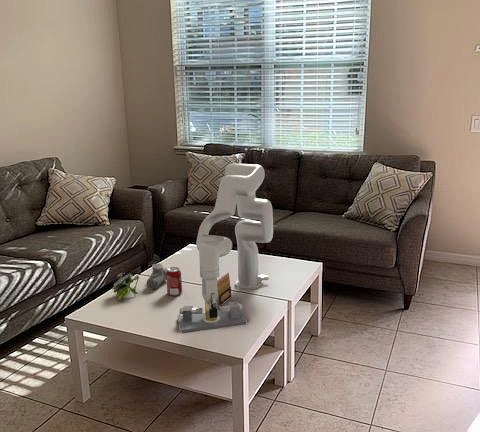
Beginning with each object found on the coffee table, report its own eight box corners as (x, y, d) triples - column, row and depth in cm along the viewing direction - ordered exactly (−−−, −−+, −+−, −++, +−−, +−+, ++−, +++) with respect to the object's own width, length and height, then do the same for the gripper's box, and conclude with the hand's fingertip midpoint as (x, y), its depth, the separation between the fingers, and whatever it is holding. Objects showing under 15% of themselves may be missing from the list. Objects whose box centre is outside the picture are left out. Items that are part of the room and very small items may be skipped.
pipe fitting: (154, 278, 250) (153, 259, 246) (169, 281, 248) (169, 262, 244) (143, 290, 240) (142, 271, 235) (159, 293, 238) (158, 274, 233)
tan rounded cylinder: (204, 316, 207) (203, 300, 206) (216, 314, 209) (215, 299, 207) (206, 321, 203) (206, 305, 201) (218, 320, 204) (217, 304, 202)
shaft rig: (239, 311, 215) (238, 297, 213) (246, 324, 203) (246, 310, 202) (177, 319, 209) (176, 305, 207) (181, 333, 197) (180, 318, 196)
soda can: (179, 297, 230) (178, 272, 226) (165, 296, 231) (163, 271, 228) (184, 291, 236) (182, 266, 233) (170, 290, 237) (168, 266, 234)
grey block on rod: (203, 316, 208) (202, 305, 207) (202, 321, 204) (201, 310, 202) (181, 316, 208) (180, 305, 207) (179, 321, 204) (179, 310, 202)
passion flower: (123, 305, 237) (127, 276, 241) (143, 305, 231) (148, 276, 236) (104, 299, 226) (109, 270, 231) (125, 299, 221) (130, 269, 225)
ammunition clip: (219, 306, 220) (218, 280, 217) (216, 305, 221) (215, 279, 218) (231, 296, 229) (230, 271, 226) (227, 295, 230) (227, 271, 227)
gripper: (196, 265, 207) (198, 304, 212) (204, 281, 191) (205, 323, 196) (214, 263, 209) (216, 301, 214) (223, 279, 193) (224, 320, 198)
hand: (211, 312), depth 205 cm, fingers open, 9 cm apart
